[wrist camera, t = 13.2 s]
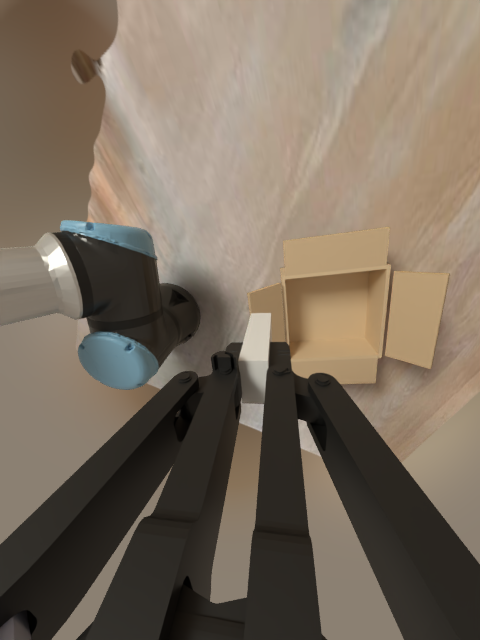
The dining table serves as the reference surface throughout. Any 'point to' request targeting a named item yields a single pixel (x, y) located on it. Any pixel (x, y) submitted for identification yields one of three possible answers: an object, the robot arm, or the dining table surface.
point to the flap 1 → (269, 308)
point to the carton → (336, 303)
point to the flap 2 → (415, 316)
